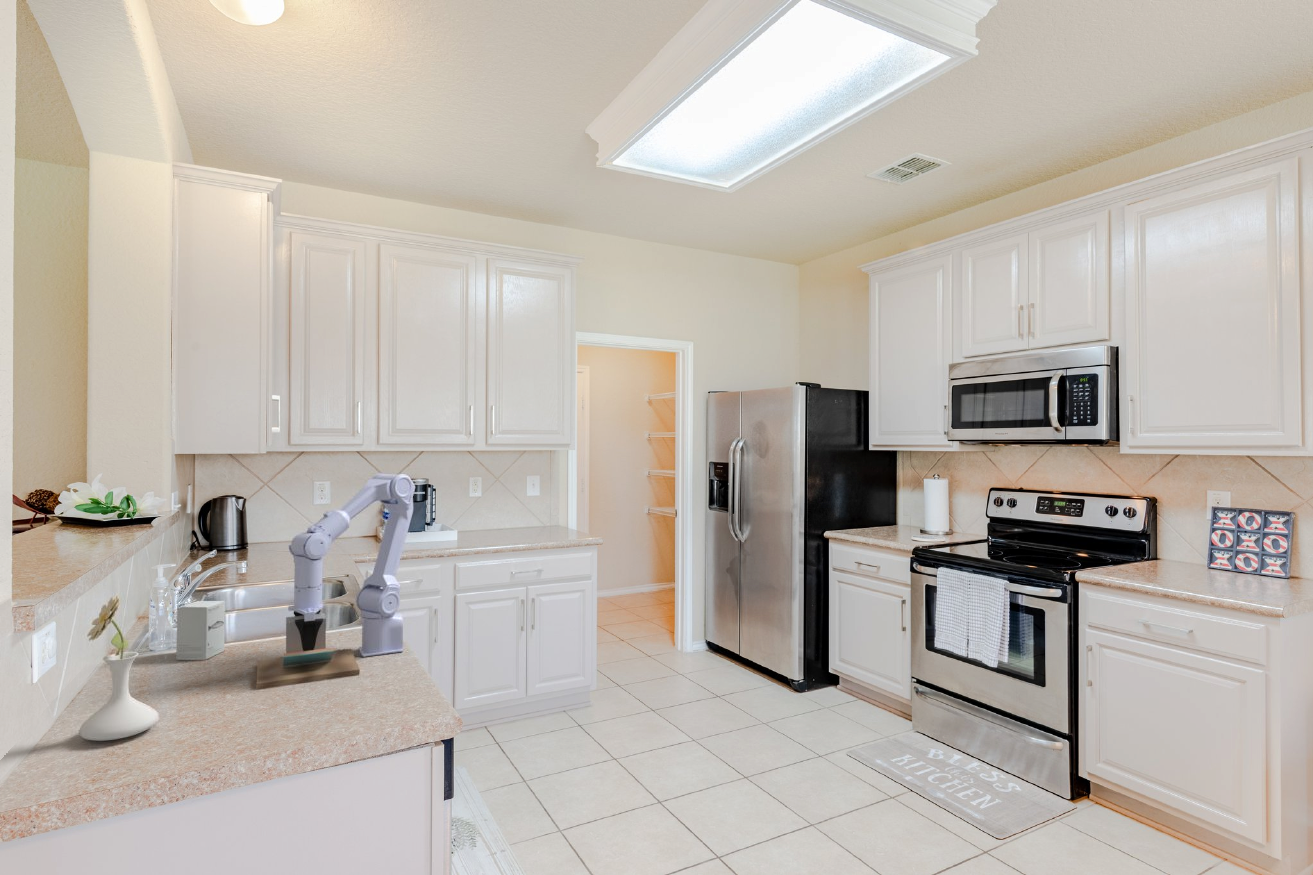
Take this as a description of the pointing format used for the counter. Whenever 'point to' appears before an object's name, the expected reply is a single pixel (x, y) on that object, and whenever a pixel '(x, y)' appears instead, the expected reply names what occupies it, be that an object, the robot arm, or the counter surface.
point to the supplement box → (200, 630)
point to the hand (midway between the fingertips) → (307, 645)
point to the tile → (307, 656)
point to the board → (305, 670)
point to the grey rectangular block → (294, 636)
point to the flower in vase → (117, 690)
